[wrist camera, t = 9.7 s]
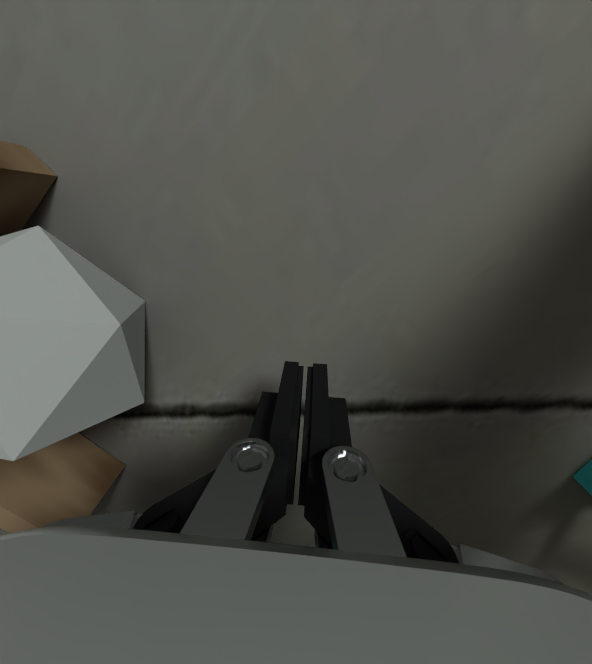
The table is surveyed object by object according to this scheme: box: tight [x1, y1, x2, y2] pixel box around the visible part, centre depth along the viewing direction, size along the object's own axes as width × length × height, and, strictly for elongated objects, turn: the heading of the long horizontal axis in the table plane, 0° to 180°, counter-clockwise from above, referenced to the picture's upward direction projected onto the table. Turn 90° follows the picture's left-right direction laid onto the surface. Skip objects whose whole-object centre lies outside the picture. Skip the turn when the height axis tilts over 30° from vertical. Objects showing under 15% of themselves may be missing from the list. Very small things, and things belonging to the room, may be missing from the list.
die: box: [0, 226, 145, 461], centre depth 12 cm, size 8×9×10 cm
